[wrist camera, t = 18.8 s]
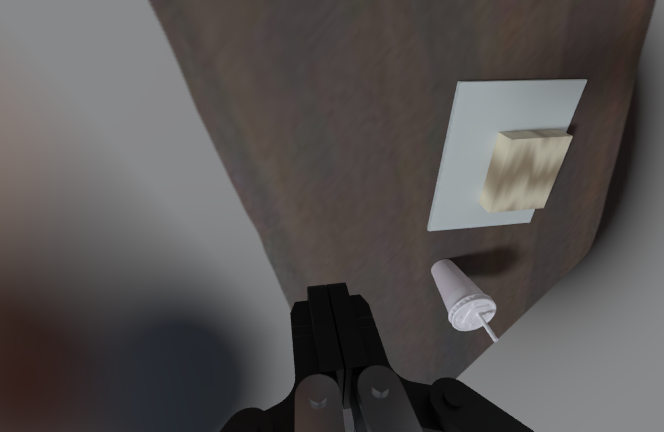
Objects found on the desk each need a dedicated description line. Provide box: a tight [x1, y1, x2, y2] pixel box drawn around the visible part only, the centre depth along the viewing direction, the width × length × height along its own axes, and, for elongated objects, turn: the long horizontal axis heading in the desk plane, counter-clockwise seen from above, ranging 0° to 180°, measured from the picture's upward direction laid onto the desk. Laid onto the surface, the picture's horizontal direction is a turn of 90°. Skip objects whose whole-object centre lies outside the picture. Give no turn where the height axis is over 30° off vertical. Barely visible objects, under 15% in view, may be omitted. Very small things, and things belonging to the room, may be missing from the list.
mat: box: [427, 79, 587, 231], centre depth 43 cm, size 20×16×1 cm
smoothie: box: [431, 259, 498, 342], centre depth 46 cm, size 6×6×14 cm
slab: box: [479, 129, 573, 213], centre depth 42 cm, size 10×3×8 cm
